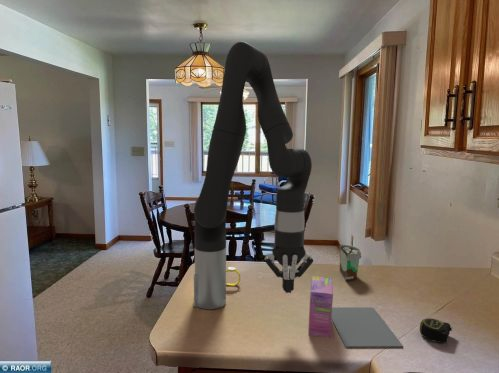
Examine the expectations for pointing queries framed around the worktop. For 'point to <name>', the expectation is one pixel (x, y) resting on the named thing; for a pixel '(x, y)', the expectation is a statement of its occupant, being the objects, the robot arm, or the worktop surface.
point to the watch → (233, 271)
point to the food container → (349, 262)
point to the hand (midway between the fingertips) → (288, 291)
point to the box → (320, 306)
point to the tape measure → (435, 330)
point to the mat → (363, 328)
